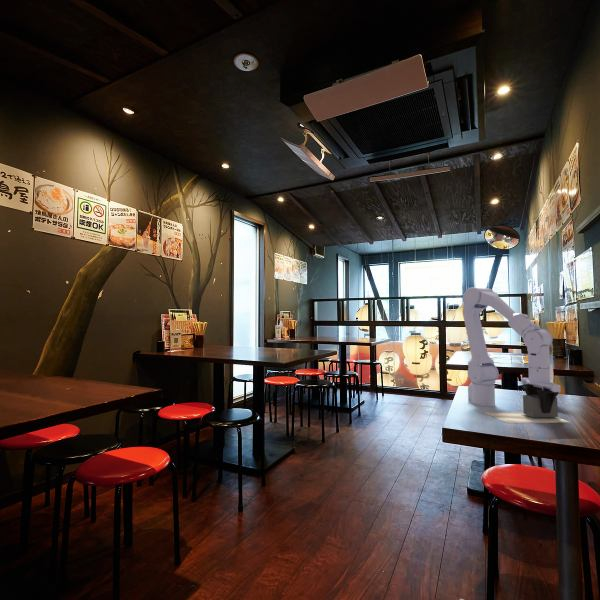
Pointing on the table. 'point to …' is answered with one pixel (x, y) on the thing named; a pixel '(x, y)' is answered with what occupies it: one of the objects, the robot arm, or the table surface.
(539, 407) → the connector cap
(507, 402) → the table surface
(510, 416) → the header board
